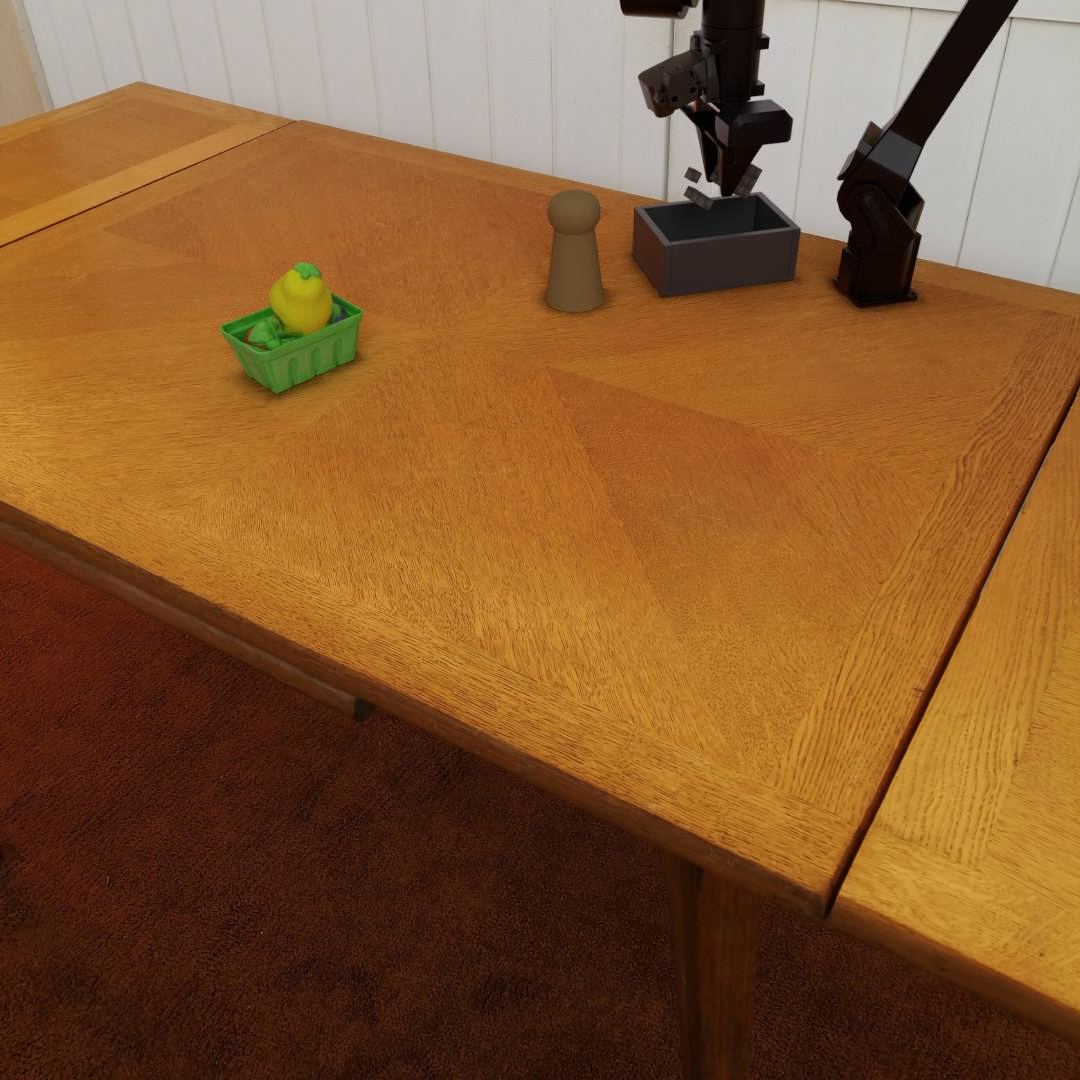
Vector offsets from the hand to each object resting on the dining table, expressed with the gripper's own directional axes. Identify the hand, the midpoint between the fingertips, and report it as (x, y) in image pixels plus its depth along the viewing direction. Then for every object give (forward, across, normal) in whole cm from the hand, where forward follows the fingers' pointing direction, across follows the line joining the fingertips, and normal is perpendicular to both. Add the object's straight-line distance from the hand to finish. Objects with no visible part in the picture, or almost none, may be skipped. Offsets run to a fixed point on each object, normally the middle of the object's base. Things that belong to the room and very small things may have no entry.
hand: (718, 188), depth 103 cm
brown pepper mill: (+9, +3, -16) cm, 19 cm away
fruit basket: (+9, +10, -44) cm, 46 cm away
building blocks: (+1, 0, 0) cm, 1 cm away
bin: (+9, 0, 0) cm, 9 cm away
